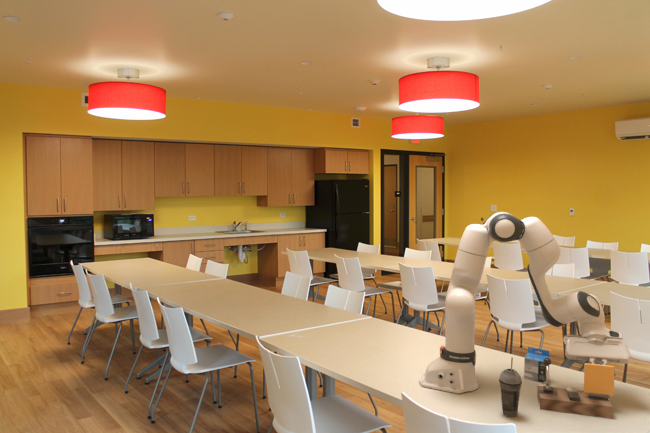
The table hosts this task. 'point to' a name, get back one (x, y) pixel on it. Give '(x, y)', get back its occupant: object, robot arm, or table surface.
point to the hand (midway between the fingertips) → (599, 371)
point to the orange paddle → (599, 380)
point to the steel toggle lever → (547, 376)
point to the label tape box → (535, 364)
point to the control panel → (573, 402)
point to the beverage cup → (510, 391)
